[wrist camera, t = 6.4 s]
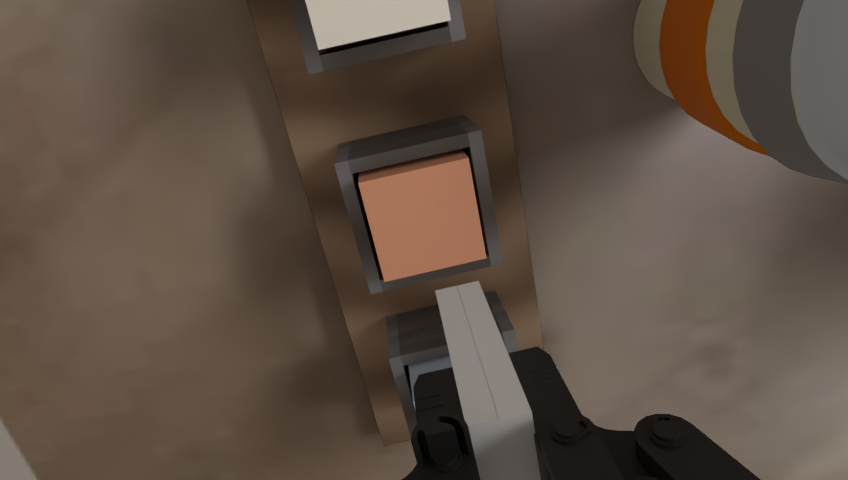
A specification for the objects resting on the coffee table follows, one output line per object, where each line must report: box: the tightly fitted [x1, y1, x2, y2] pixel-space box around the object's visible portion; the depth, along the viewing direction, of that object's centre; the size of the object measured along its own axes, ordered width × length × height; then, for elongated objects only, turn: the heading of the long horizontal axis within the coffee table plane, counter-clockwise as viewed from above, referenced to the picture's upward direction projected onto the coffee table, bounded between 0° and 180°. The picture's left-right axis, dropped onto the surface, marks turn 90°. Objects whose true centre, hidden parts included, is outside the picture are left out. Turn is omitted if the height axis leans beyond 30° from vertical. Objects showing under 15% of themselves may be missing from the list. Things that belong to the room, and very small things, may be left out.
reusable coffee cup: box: [633, 0, 848, 183], centre depth 26 cm, size 13×13×15 cm
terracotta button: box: [358, 149, 486, 282], centre depth 30 cm, size 6×6×5 cm
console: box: [247, 0, 544, 446], centre depth 31 cm, size 38×13×6 cm, turn 12°
